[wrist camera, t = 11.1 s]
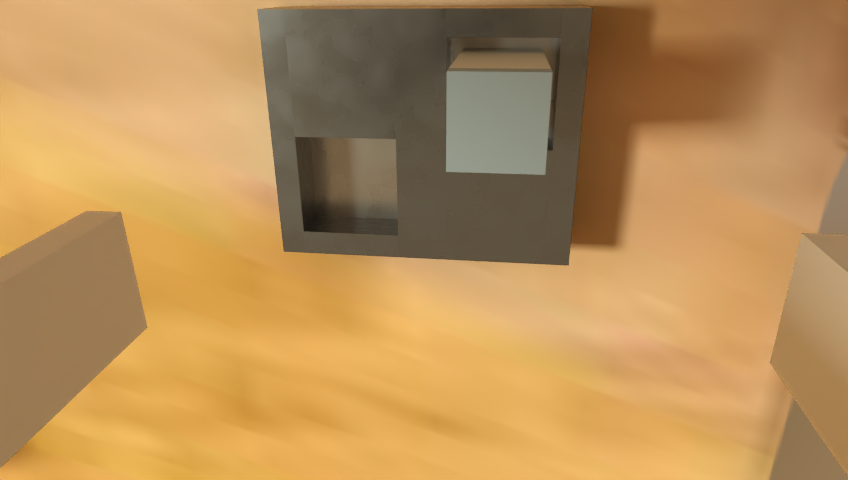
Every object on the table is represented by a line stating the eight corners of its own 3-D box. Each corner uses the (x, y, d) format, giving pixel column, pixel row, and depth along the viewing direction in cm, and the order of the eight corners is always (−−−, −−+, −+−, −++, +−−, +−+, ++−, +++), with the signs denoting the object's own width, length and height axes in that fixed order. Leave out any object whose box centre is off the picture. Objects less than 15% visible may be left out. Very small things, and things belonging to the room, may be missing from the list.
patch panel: (300, 231, 37) (283, 251, 35) (278, 7, 32) (257, 9, 30) (564, 243, 35) (568, 265, 33) (585, 5, 30) (592, 7, 28)
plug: (462, 124, 33) (446, 171, 25) (464, 48, 31) (446, 71, 23) (536, 126, 32) (545, 174, 24) (542, 48, 31) (552, 72, 23)
